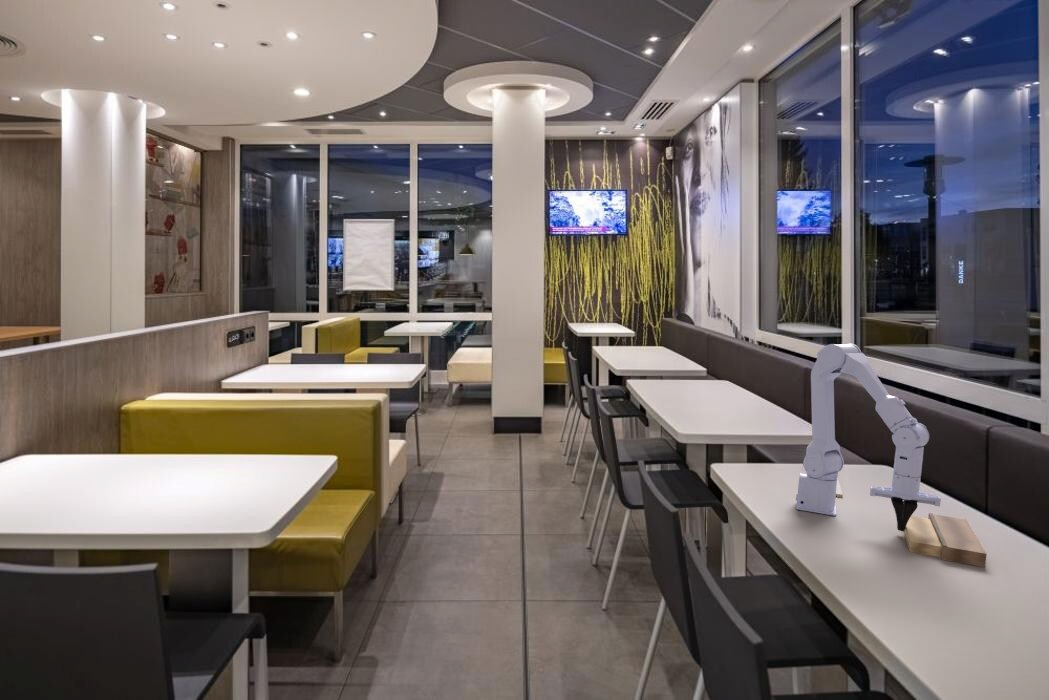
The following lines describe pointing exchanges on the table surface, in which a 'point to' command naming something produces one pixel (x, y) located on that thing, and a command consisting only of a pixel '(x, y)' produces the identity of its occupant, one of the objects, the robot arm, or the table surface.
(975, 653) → the table surface
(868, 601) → the table surface
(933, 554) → the oak plank
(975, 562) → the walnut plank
